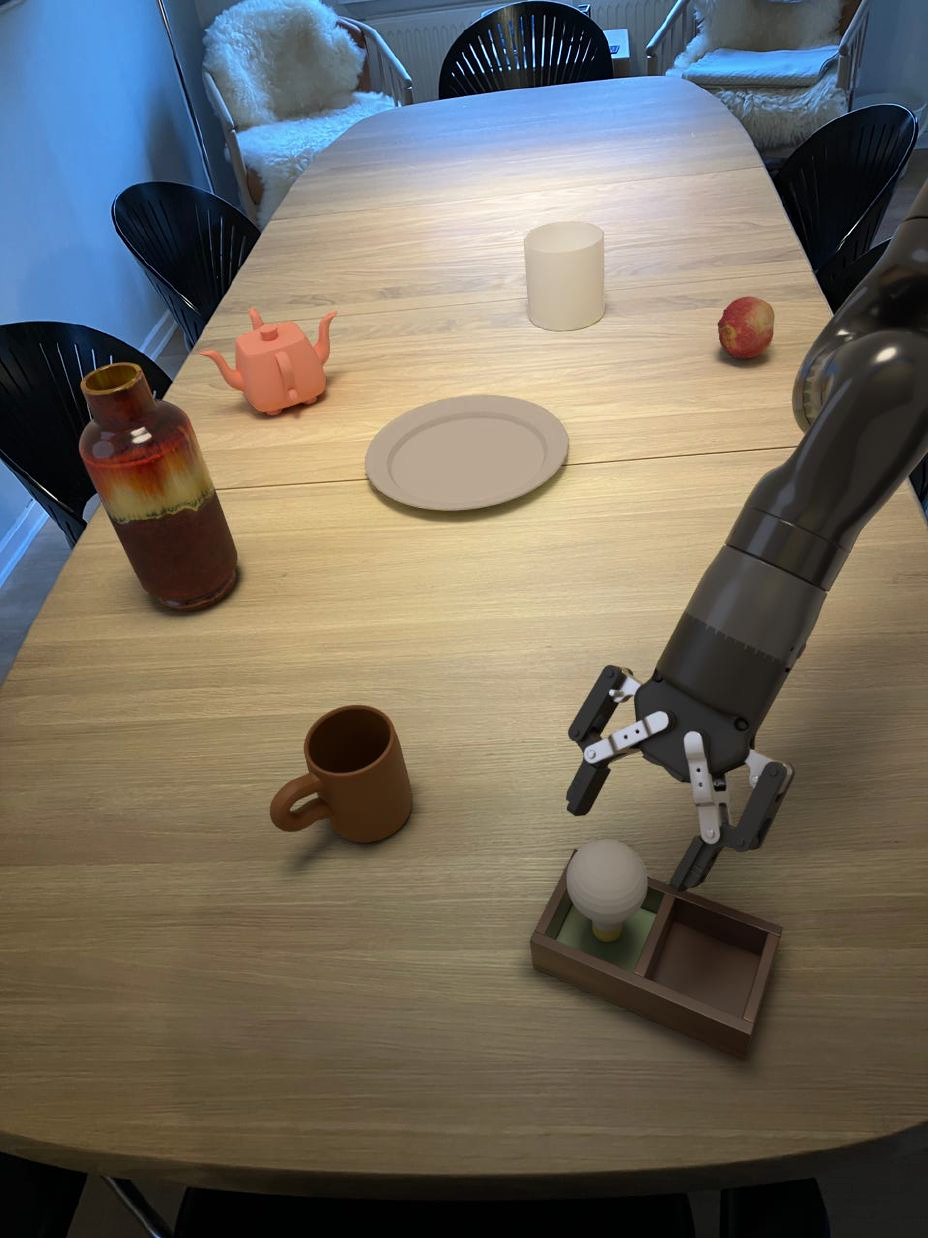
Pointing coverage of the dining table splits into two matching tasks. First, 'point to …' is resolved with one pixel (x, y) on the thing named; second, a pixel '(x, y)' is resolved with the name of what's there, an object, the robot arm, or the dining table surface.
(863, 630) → the dining table surface
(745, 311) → the fruit
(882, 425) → the robot arm
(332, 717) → the mug
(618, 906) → the light bulb
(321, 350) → the teapot
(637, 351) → the dining table surface
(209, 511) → the vase
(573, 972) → the tray
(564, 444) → the plate
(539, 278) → the cup
